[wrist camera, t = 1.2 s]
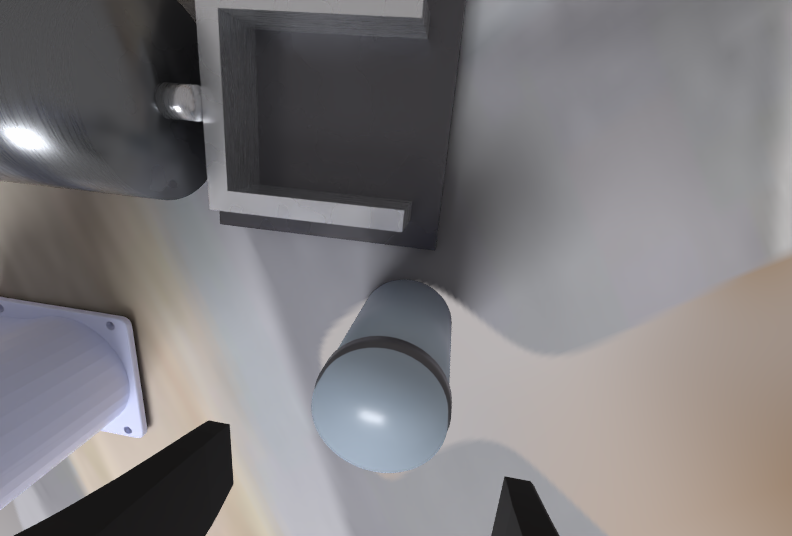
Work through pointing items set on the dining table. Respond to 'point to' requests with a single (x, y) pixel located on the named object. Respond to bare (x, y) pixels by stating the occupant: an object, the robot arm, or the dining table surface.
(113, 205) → the dining table surface
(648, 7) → the dining table surface
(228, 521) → the dining table surface
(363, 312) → the banded grey cylinder
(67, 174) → the motor
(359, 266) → the dining table surface
